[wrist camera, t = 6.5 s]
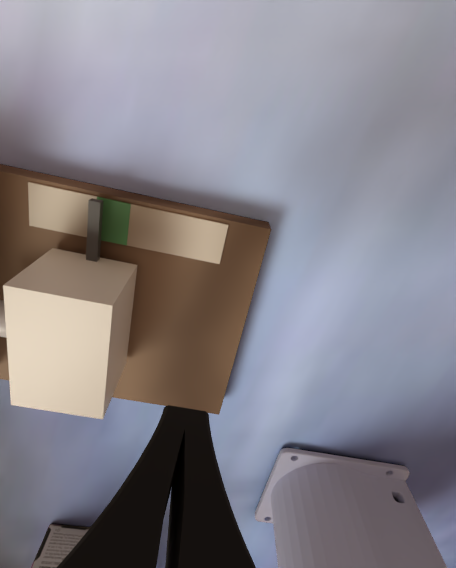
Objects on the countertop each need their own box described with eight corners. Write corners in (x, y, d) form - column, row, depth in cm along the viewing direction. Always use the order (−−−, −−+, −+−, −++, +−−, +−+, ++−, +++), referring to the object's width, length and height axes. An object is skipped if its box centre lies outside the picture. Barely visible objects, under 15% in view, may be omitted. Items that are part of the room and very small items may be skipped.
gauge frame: (268, 222, 17) (287, 273, 12) (219, 400, 23) (216, 494, 17) (-70, 148, 16) (-231, 166, 10) (-41, 356, 21) (-138, 443, 15)
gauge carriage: (144, 208, 16) (118, 236, 12) (126, 362, 19) (102, 419, 16) (5, 178, 15) (-66, 198, 11) (14, 343, 19) (-37, 397, 15)
